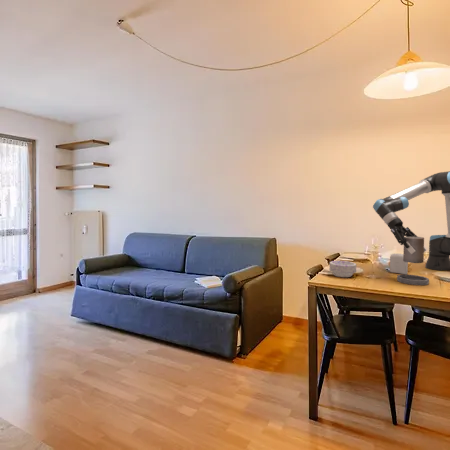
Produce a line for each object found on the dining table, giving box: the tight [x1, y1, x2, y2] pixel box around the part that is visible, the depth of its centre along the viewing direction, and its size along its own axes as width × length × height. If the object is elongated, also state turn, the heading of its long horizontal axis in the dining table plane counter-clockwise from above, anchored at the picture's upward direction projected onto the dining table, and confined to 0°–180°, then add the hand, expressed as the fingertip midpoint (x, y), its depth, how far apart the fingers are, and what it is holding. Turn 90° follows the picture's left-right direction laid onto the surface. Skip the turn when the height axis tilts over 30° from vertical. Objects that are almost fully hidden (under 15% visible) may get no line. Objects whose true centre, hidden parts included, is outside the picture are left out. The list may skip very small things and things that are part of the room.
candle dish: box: [396, 274, 430, 286], centre depth 174 cm, size 15×15×2 cm
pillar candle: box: [402, 234, 425, 264], centre depth 173 cm, size 10×10×15 cm
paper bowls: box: [329, 260, 357, 278], centre depth 188 cm, size 15×15×8 cm
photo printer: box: [389, 253, 409, 275], centre depth 196 cm, size 10×4×12 cm, turn 39°
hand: (419, 252), depth 170 cm, fingers closed on pillar candle, 9 cm apart
